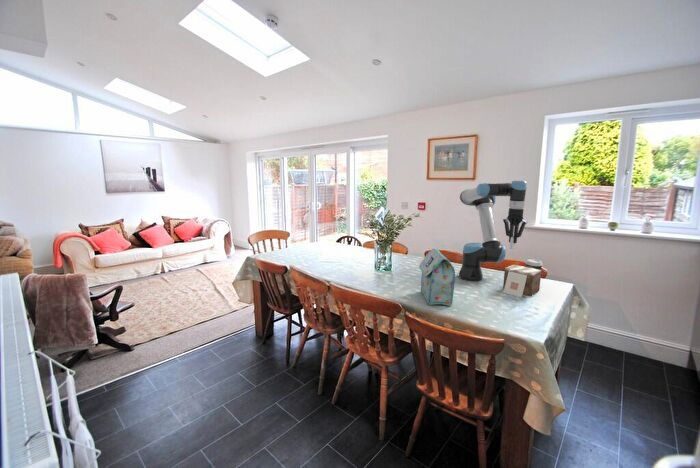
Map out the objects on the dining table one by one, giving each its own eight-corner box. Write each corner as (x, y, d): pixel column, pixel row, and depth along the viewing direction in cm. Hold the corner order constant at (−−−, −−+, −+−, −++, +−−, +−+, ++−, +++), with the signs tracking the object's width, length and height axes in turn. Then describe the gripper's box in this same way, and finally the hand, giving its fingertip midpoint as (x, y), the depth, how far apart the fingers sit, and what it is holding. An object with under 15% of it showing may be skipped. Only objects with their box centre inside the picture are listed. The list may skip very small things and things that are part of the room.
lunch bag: (417, 291, 190) (418, 247, 185) (444, 291, 190) (447, 247, 185) (424, 306, 167) (426, 257, 163) (456, 307, 167) (459, 257, 162)
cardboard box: (502, 288, 193) (504, 268, 191) (511, 284, 201) (513, 264, 199) (531, 296, 181) (533, 274, 179) (539, 291, 189) (541, 270, 187)
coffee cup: (543, 286, 196) (545, 263, 194) (526, 285, 198) (528, 262, 196) (537, 281, 206) (539, 259, 203) (521, 280, 208) (523, 258, 205)
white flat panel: (503, 292, 188) (503, 292, 187) (509, 271, 189) (508, 271, 188) (521, 297, 180) (521, 297, 179) (527, 275, 181) (526, 275, 180)
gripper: (501, 207, 183) (497, 247, 188) (525, 209, 173) (520, 251, 178) (507, 206, 188) (504, 245, 192) (531, 208, 178) (526, 249, 183)
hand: (512, 248), depth 185 cm, fingers closed
